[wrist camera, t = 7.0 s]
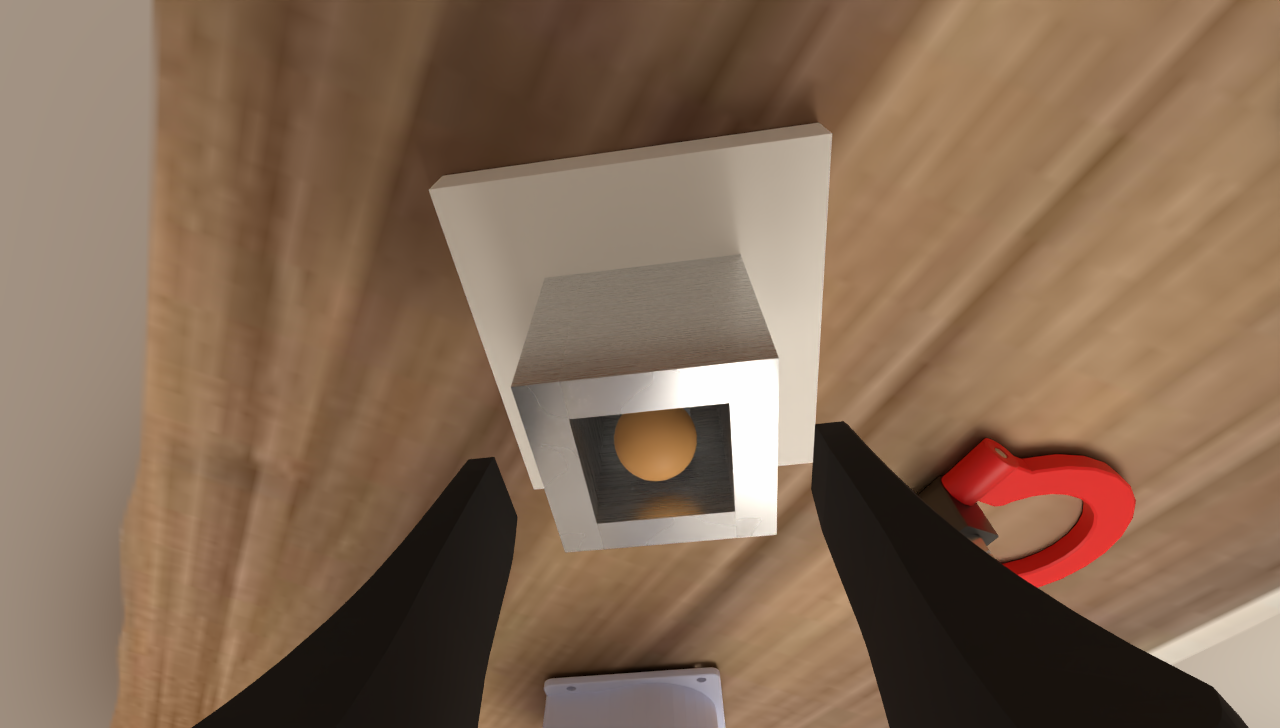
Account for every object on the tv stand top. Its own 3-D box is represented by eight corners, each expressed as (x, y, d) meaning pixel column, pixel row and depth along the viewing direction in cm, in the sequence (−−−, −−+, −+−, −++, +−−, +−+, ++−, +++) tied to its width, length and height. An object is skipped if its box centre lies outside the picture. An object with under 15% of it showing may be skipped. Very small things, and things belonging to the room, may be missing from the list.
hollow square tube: (581, 424, 18) (565, 552, 14) (544, 278, 15) (510, 387, 11) (744, 408, 18) (776, 534, 14) (740, 254, 15) (778, 357, 11)
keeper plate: (539, 465, 21) (507, 619, 16) (442, 176, 15) (341, 277, 10) (804, 439, 20) (859, 591, 15) (818, 122, 14) (918, 203, 9)
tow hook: (1161, 479, 22) (992, 412, 20) (1635, 929, 12) (1412, 912, 10) (1003, 590, 27) (848, 547, 24) (1252, 990, 16) (1027, 990, 14)
